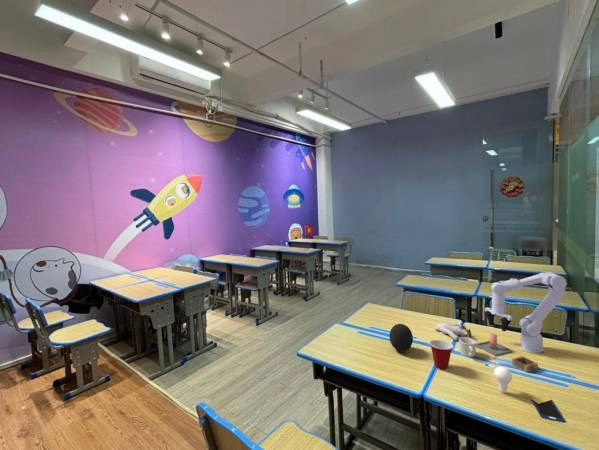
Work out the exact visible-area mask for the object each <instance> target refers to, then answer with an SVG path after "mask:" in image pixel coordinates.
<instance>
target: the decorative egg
mask: <svg viewBox="0 0 599 450" xmlns="http://www.w3.org/2000/svg"><path fill="white" fill-rule="evenodd" d="M389 331H390V332H389V336H388V337H389V342H390V344H391V345H392V347H393V349H395V350H396V351H398V352H406V351H408V350H409V349H410V348H412V345H413V342H414V337H413V332H412V330H411V329H410V327H409V326H407V325H406V324H403V323H397V324H394V325H393V326H392V327H391V329H390V330H389Z"/></svg>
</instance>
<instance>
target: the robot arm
mask: <svg viewBox="0 0 599 450" xmlns="http://www.w3.org/2000/svg"><path fill="white" fill-rule="evenodd" d="M535 284H543V285H546V286H547V287H548V290H549V292H548V293H547V294H546V295H545V297H543V299H542V300H541V302H540V303H539V304H538V305H537V307H535V309H534V310H533V312H531V314H527V315H526V316H525V317H524V318H522V319H520V320H519V322H518V323H519V326H520V327H521V331H520V333H521V334H520V345H517V347H518V348H520V349H522V350H524V351H526V352H527V353H528V352H529V353H530V354H534V353H540V352H544V351H545V349H544V339H543V335H541V331H542V328H543V326H544V325H543V324H544V323H543V321H544V320H545V319H546V318H547V316H549V314H550V313H551V312H552V310H553V309H555V307H556V306H557V305H558V303H559V302H560V300H562V298H564V296H565V292H566V286H568V283H567V281H566V279H565V278H564V277H563V276H562V275H559V274H556V273H554V272H553V271H545V272H539V273H538V274H534V275H532V276H529V277H525V278H521V279H517V278H512V277H511V278H510V279H508V280H501V281H499V282H493V283H492V284H491V285H490V289H491V291H492V293H491V294H492V295H491V307H484V315H485V316H486V318H487V321H488V325H489V326H490V327H491V326H494V323H495V316H499V317H501V318H500V319H499V320H500V322H501V331H502V332H507V329H508V327H509V326H510V323H511V322H512V321H513V316H511V315H509V314H508V313H506V312H505V304H506V303H505V302H506V301H505V298H506V297H505V295H506V293H508V292H512V291H513V292H514V291H517V290H521V289H522V288H523V286H531V285H535Z"/></svg>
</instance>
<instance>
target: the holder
mask: <svg viewBox="0 0 599 450" xmlns="http://www.w3.org/2000/svg"><path fill="white" fill-rule="evenodd" d="M511 366H513V367H516V368H518V369H520V370H521V371H523V372H525V373H530V372H534V371H538V369H539V368H538V367H539V364H538V363H537V362H536V361H533V360H531V359H530V358H527V357H525V356H517V357H514V358H511Z"/></svg>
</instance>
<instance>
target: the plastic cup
mask: <svg viewBox="0 0 599 450" xmlns="http://www.w3.org/2000/svg"><path fill="white" fill-rule="evenodd" d="M428 344H429V346H430V349H431V352H432V353H431V354H432V357H433V358H432V359H433V362H434V363H433V364H434V367H435V368H436V369H438V370H441V371H446V370H448V368H449V364H450V359H451V354H452V350H453V348H454V345H453V344H452V343H451V342H449V341H446V340H443V339H431V340H429V343H428Z"/></svg>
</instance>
